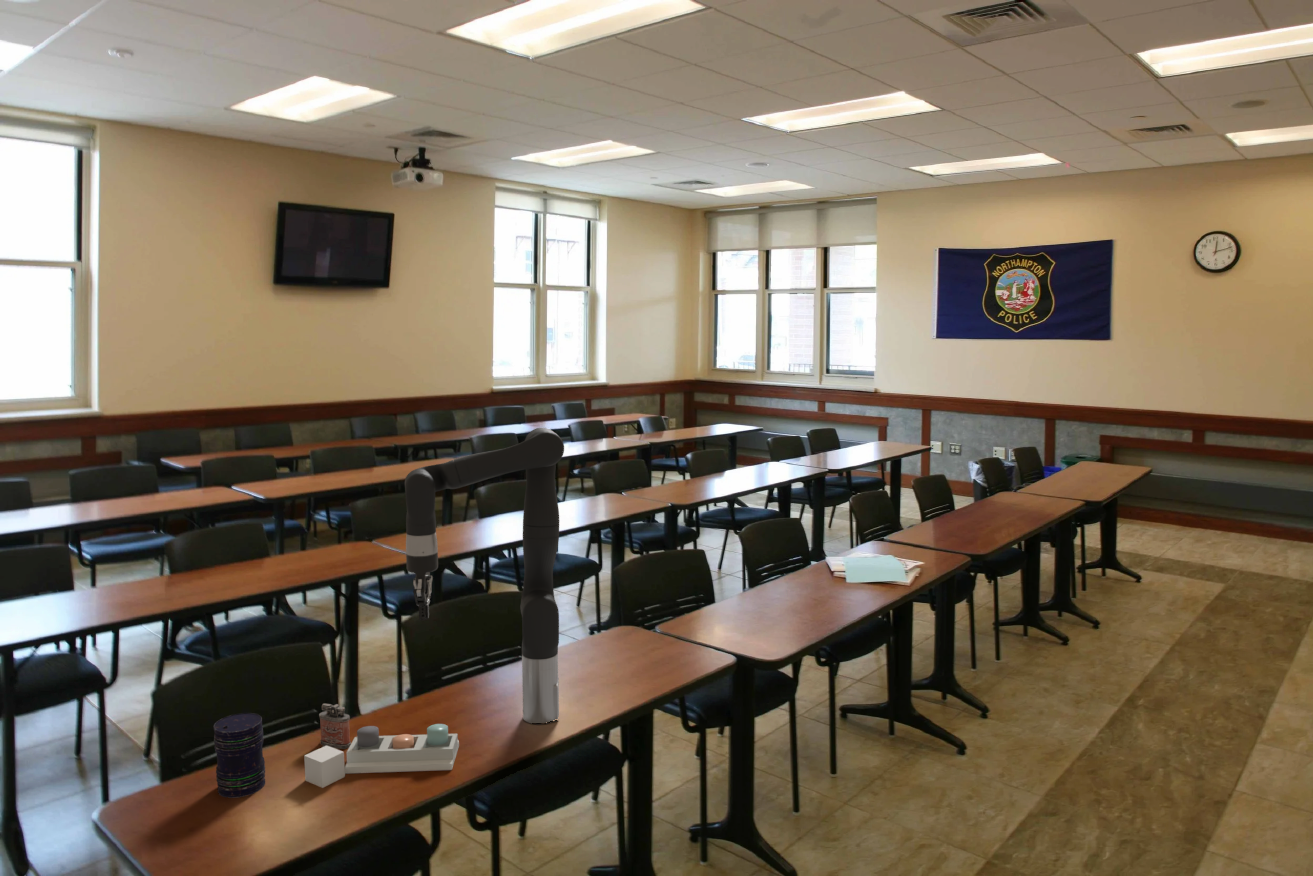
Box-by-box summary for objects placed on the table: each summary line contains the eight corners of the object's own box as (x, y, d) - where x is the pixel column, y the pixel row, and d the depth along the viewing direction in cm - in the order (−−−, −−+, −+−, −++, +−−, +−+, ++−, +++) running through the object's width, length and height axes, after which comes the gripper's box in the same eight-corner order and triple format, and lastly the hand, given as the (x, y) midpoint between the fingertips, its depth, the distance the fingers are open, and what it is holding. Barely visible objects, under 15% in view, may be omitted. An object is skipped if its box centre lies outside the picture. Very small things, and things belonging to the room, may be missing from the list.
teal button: (449, 735, 220) (449, 723, 219) (446, 744, 215) (446, 732, 214) (429, 736, 219) (428, 724, 219) (425, 745, 214) (425, 733, 214)
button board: (459, 746, 224) (458, 729, 223) (451, 770, 212) (451, 753, 211) (357, 749, 222) (357, 733, 221) (344, 773, 210) (344, 756, 210)
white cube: (322, 788, 204) (321, 762, 203) (305, 781, 207) (304, 755, 206) (345, 777, 209) (343, 751, 208) (327, 770, 212) (326, 745, 211)
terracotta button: (415, 746, 219) (415, 733, 219) (412, 755, 214) (411, 743, 214) (395, 746, 219) (394, 734, 218) (390, 756, 214) (390, 743, 214)
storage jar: (249, 771, 211) (246, 709, 209) (275, 783, 205) (271, 719, 204) (207, 789, 203) (203, 724, 201) (233, 803, 197) (229, 736, 195)
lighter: (353, 744, 225) (352, 704, 224) (345, 750, 222) (343, 710, 220) (326, 739, 227) (324, 700, 226) (317, 745, 224) (315, 705, 223)
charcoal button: (381, 737, 218) (380, 725, 218) (376, 747, 214) (376, 734, 213) (360, 738, 218) (359, 726, 218) (355, 747, 213) (354, 735, 213)
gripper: (433, 557, 220) (435, 628, 222) (441, 544, 233) (443, 610, 235) (401, 558, 219) (403, 628, 221) (411, 544, 232) (413, 611, 235)
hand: (424, 619), depth 228 cm, fingers closed
